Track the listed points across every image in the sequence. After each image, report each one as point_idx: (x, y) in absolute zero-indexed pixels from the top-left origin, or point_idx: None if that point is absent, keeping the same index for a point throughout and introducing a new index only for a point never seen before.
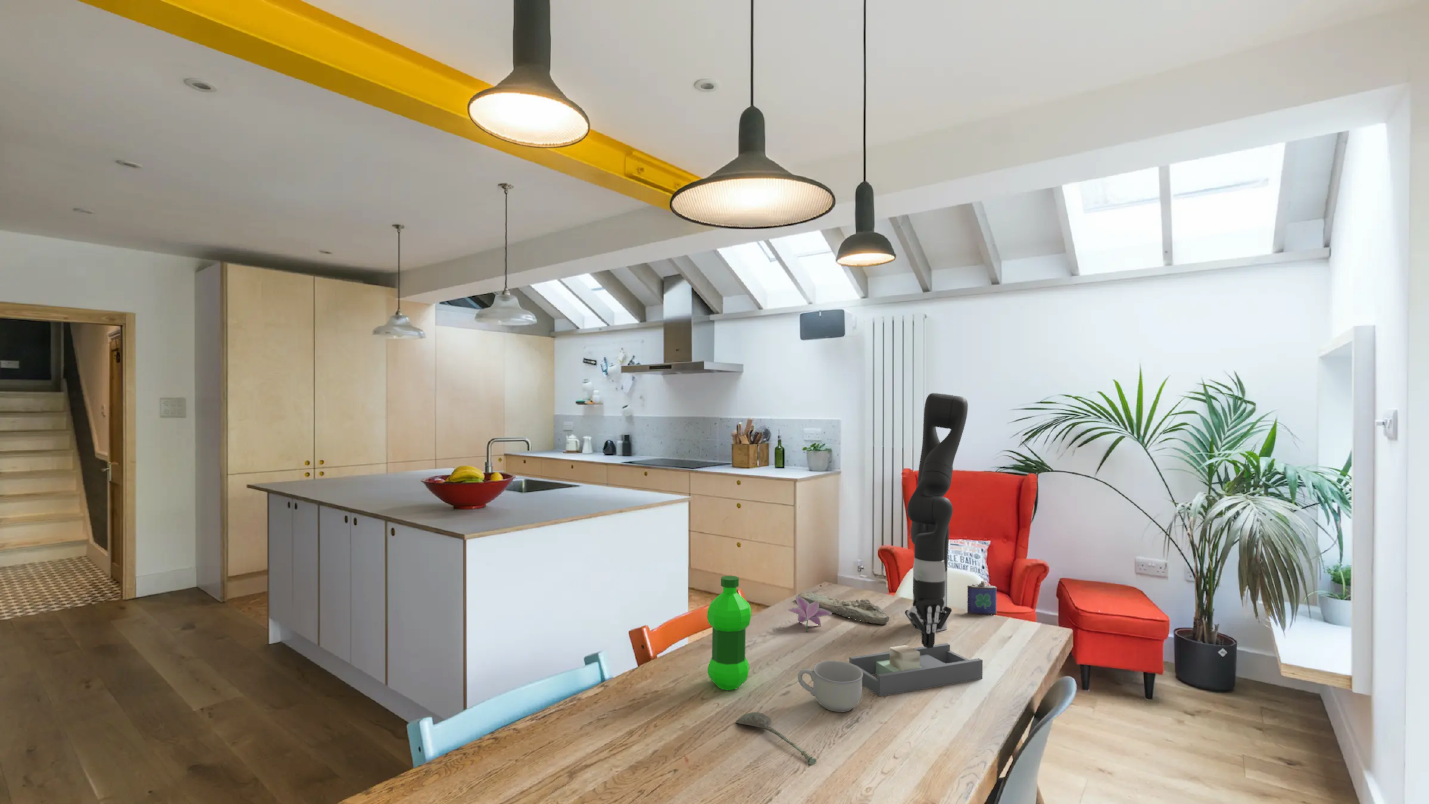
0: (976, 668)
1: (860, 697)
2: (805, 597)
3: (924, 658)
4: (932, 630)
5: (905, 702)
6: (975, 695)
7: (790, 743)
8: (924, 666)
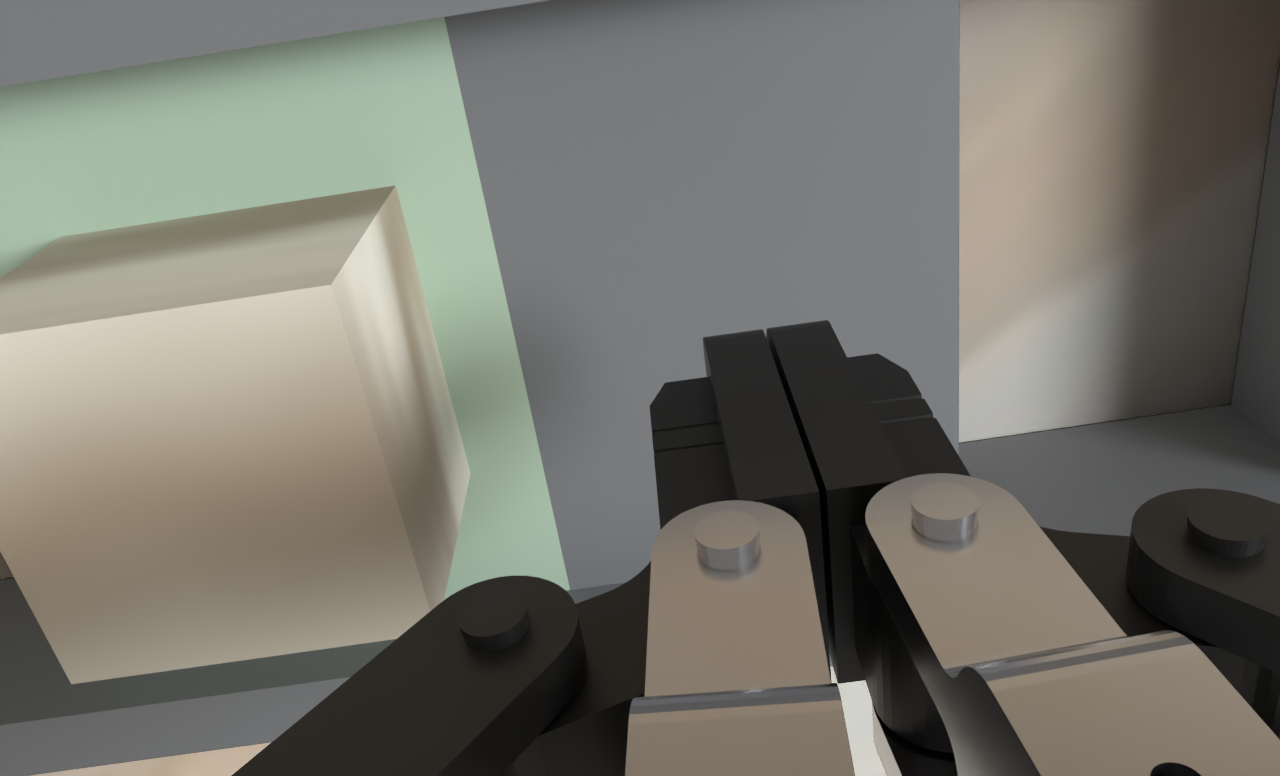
0: None
1: None
2: None
3: (777, 128)
4: (884, 748)
5: (116, 765)
6: (865, 741)
7: None
8: (582, 420)
